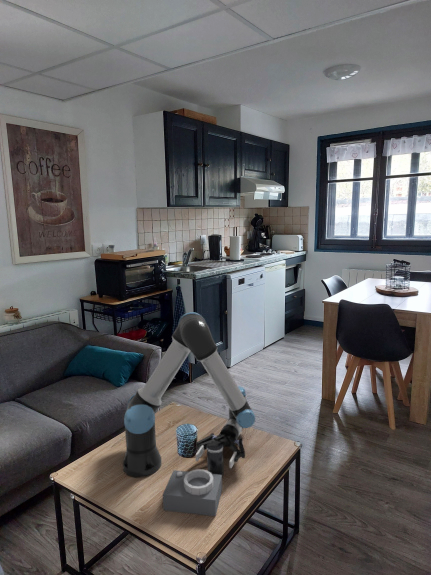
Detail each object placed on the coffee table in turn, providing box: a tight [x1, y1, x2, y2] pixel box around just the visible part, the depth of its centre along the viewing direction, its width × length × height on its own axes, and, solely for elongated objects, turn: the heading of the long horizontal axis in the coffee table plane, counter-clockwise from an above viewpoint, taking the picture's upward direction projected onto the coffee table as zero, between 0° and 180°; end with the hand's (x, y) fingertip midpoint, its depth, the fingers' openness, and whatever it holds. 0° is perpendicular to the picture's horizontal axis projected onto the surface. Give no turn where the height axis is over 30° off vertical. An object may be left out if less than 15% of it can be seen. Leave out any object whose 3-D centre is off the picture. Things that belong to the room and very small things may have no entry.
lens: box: [206, 441, 224, 477], centre depth 151 cm, size 6×6×12 cm
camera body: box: [162, 468, 223, 517], centre depth 138 cm, size 18×13×8 cm
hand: (213, 461), depth 148 cm, fingers open, 13 cm apart
